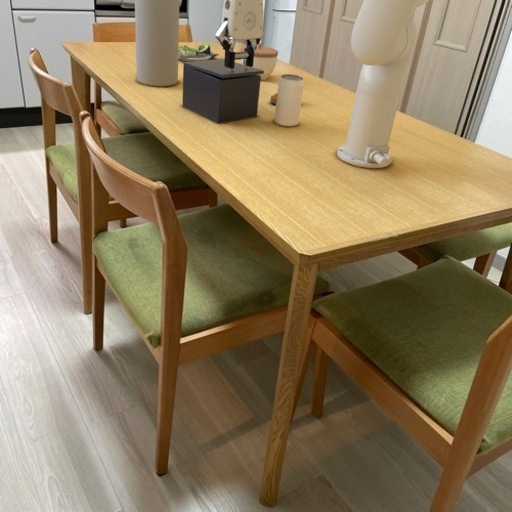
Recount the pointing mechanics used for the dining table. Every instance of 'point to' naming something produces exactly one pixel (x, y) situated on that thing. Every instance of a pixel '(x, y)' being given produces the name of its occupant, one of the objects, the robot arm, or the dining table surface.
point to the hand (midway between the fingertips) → (238, 66)
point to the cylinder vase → (157, 41)
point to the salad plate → (195, 53)
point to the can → (289, 100)
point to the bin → (220, 95)
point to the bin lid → (221, 71)
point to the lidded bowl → (264, 59)
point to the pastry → (274, 98)
